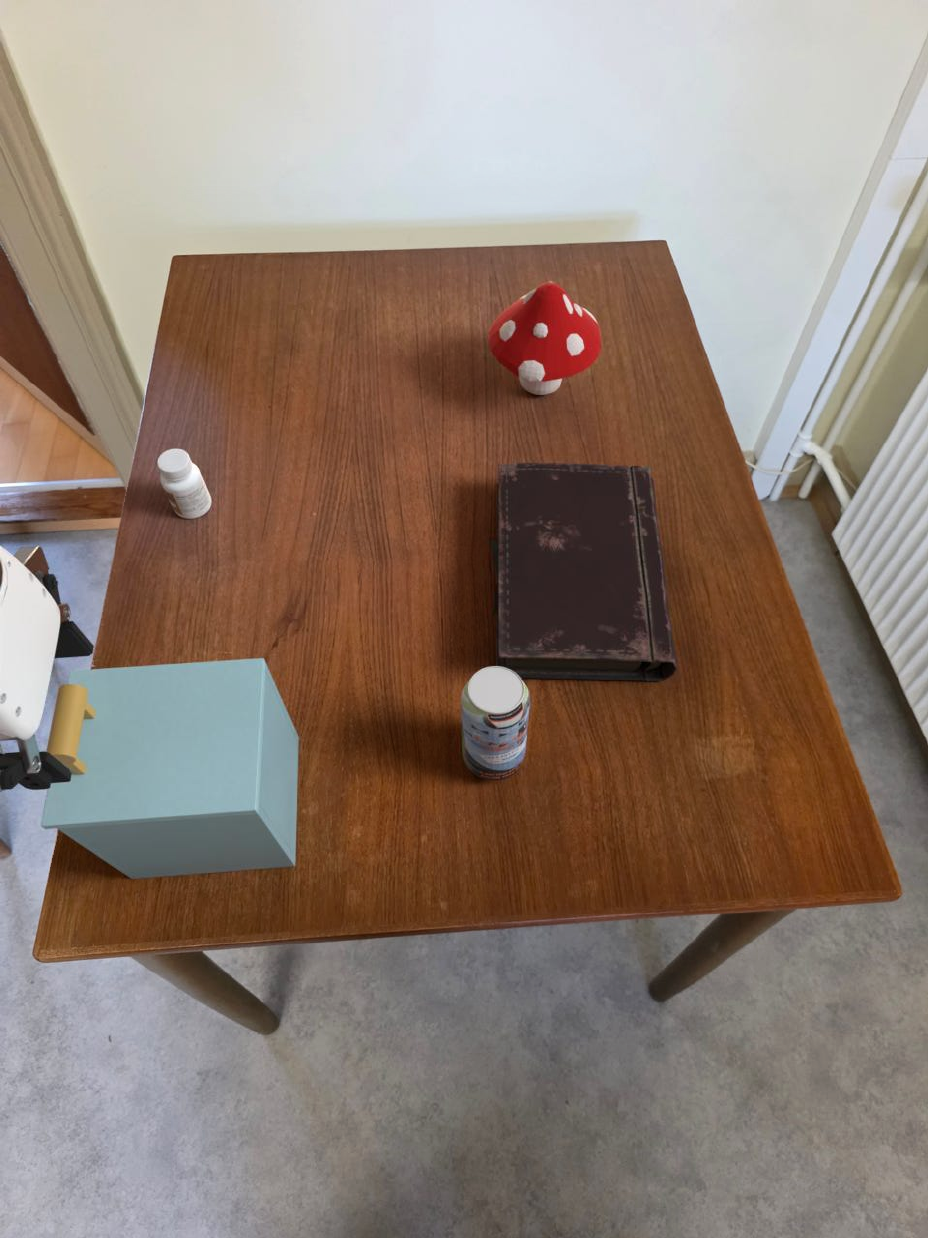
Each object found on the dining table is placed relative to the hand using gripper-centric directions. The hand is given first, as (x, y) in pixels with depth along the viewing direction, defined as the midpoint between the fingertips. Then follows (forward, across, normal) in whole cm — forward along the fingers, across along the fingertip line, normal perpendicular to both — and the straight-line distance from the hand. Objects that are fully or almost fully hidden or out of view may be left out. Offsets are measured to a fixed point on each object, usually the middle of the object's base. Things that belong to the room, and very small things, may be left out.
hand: (61, 713), depth 57 cm
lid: (+6, 0, +5) cm, 8 cm away
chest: (+22, 0, +5) cm, 22 cm away
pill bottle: (+22, -36, 0) cm, 42 cm away
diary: (+22, -22, +42) cm, 53 cm away
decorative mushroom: (+22, -53, +43) cm, 71 cm away
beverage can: (+22, -3, +32) cm, 39 cm away
